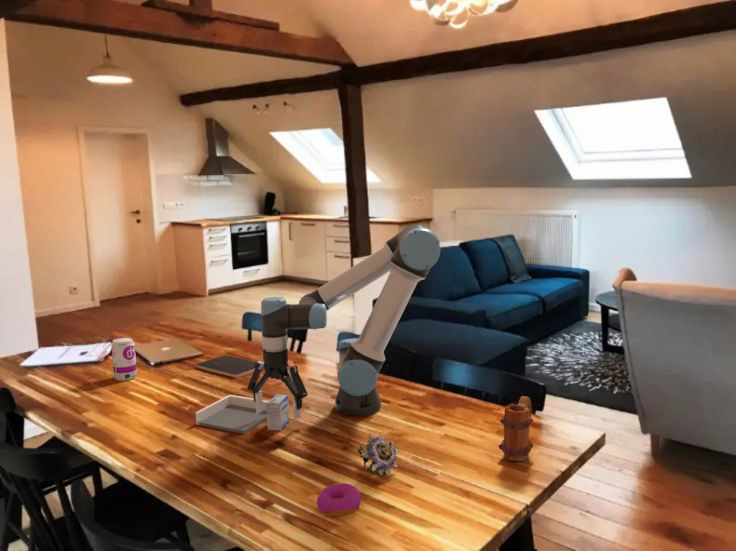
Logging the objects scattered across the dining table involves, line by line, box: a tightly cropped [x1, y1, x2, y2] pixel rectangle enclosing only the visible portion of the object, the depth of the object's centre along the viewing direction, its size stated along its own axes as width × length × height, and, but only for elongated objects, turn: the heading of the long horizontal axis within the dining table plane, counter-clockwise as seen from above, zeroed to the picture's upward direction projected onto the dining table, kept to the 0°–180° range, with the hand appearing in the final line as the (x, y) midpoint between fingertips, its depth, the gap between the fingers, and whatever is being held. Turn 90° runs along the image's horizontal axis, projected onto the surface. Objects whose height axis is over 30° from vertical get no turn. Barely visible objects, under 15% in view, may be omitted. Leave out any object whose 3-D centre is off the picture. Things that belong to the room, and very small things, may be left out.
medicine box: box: [266, 394, 290, 431], centre depth 195 cm, size 8×4×9 cm, turn 168°
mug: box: [498, 395, 534, 462], centre depth 172 cm, size 15×8×15 cm, turn 148°
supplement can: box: [110, 337, 138, 382], centre depth 243 cm, size 8×8×15 cm
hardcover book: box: [195, 354, 258, 379], centre depth 254 cm, size 16×23×2 cm
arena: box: [195, 394, 270, 435], centre depth 201 cm, size 18×17×4 cm
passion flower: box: [356, 433, 400, 477], centre depth 165 cm, size 11×11×12 cm
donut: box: [316, 482, 362, 517], centre depth 147 cm, size 10×10×4 cm
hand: (278, 415), depth 195 cm, fingers open, 13 cm apart
